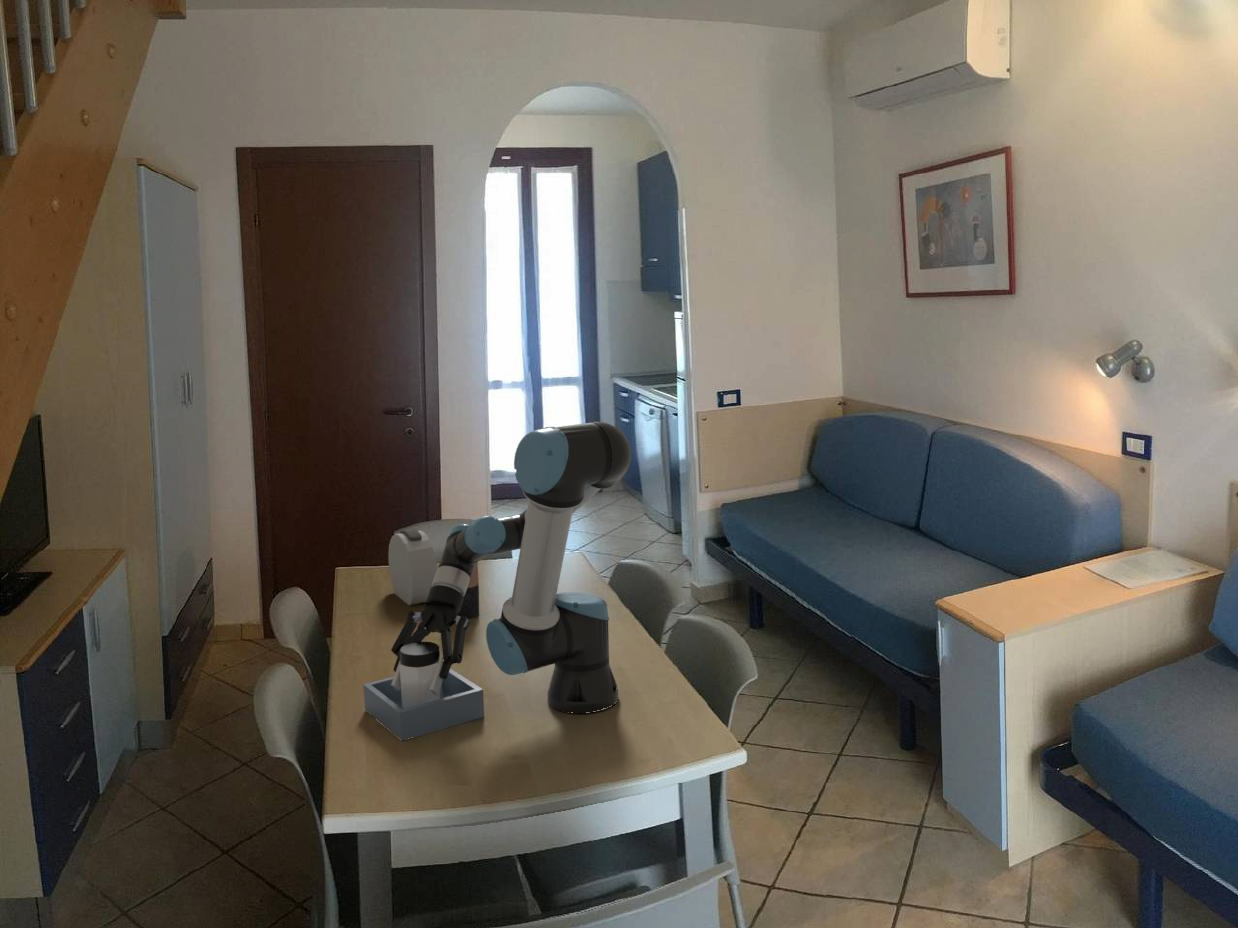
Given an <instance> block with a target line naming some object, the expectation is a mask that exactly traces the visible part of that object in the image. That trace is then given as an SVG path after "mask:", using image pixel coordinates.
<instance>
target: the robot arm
mask: <svg viewBox="0 0 1238 928" xmlns="http://www.w3.org/2000/svg"><path fill="white" fill-rule="evenodd" d="M516 447H517V448H516V449H515V452H514V460H513V467H514V470H516V471H515V473H514V474H515V475H514V476H515V479H516V482H517V483H518V484H517V485H518V486H519V487H520V489H521V490H522V493H523V495H524V497H525V498H526V499H527V500H528V503H527V508H526V510H524V511H523V512H522V513H518V514H514V515H508V516H503V517H498V518H496V517H493V516H491V515H484V516H481V517H479V518H477V519H474V520H473V522H471V523H470V524H466V523H462V524H455V525H454V526H453V527H452V528H451V530H450V532H449V535H448V536H447V538H446V541H445V547H444V549H443V552H442V555H441V556H440V557H441V558H440V561H439V564H438V565H437V571H436V574H435V577H434V580H433V582H432V587H431V588H430V591H429V594H428V597H427V600H426V602H425V606H424V608H423V609H422V610H421V611H419V612H417V611H416V612H415V611H414V610H409V612H408V614H407V617H406V618H407V619H406V620H405V622H404V625H403V627H402V628H401V631H400V633H399V634H398V636H397V638H396V640H395V641H394V643H393V645H392V647H391V649H390V651H391V652H392V653H393V654H394V655H395V657H397V658H396V659H395V660H396V661H395V663H394V666H393V671H394V675H393V677H394V678H393V681H392V684H391V685H392V686H393V687H394V688H395V689H396V690H399V691H400V688H401V681H400V663H401V662H400V649H401V647H403V646H404V645H407V644H410V643H414V642H423V640H424V639H425V638H426V637H427V636H430V634H431V633H438V634H440V637H441V638H440V639H441V649H442V657H441V659H442V660H439V662H438V666H437V668H436V671H435V674H434V677H433V680H432V683H431V686H430V689H429V690H430V691H431V692H432V693H433V694H434V695H438V693H439V690H440V687H441V684H442V681H443V679H446V678H447V677H448V673H449V670H450V669H451V667H452V666H453V665H454V664H458V665H459V664H461V663H462V661H463V656H464V655H463V653H464V648H465V639H466V633H467V632H466V631H467V629H468V627H469V625H470V620H469V619H467V618H466V617H465V616H461V617H460V616H458V613H459V611H460V609H461V606H462V603H463V600H464V597H463V596H464V595H465V593H466V590H467V587H468V584H469V581H470V578H471V575H472V572H473V569H474V566H475V564H476V563H479V562H480V561H482V560H483V559H485V558H486V557H488V556H492V555H497V554H502V553H507V552H512V551H515V550H520V551H519V555H518V560H517V567H516V573H515V579H514V583H513V591H512V596H511V597H509V598H508V599H507V600H505V601H504V603H503V604H502V609H501V614H500V618H495V619H493V620H492V621H490V622H488V624H487V625H486V628H485V629H486V630H485V631H486V632H485V638H486V644H487V647H488V651H489V653H490V657H491V658H492V660H493V662H494V664H495V665H496V666H497V667H498V669H499V670H500V671H501V672H502V673H504V674H506V675H508V676H514V675H519V674H520V675H521V674H526V673H528V672H531V671H534V670H538V669H541V668H544V667H547V666H551V665H554V668H553V671H552V675H551V678H550V682H549V687H547V688H548V689H547V703H548V705H549V706H550V707H551V708H552V709H554V710H556V709H557V710H556V711H558V710H560V711H559V712H561V711H564V712H563V713H565V712H569V713H568V714H572V713H571V712H573V713H586V712H593V711H597V710H601V709H603V708H607V707H609V706H611V705H613V704H614V703H615V702H616V701H617V699H618V700H619V687H618V685H617V681H616V679H615V677H614V673H613V671H612V668H611V664H610V643H609V642H610V639H609V620H610V617H609V611H608V604H607V601H606V600H605V599H603V598H602V597H600V596H599V595H596V594H592V593H585V592H579V591H578V592H575V591H574V592H572V591H571V592H569V591H567V592H559V593H558V589H559V588H558V587H559V584H560V579H561V572H562V569H563V562H564V557H565V553H566V548H567V544H568V543H567V542H568V536H569V532H570V527H571V523H572V522H571V521H572V517H573V514H574V513H575V512H576V511H577V510H579V509H580V508H581V507H582V506H583V505H584V504H585V503H587V502H588V501H589V500H590V499H592V498H593V497H594V496H595V495H596V494H597V493H598V492H599V491H601V490H606V489H610V488H611V487H613V486H614V485H615V484H616V483H618V482H619V481H620V480H621V479H622V478H623V476H624V475H625V474H626V472H627V471H628V469H629V467H630V465H631V461H632V450H631V446H630V443H629V440H628V439H627V437H626V435H624V433H623V432H622V431H621V430H620V429H619V428H618V427H617V426H614V425H612V424H610V423H608V422H604V421H592V422H587V423H579V424H572V425H570V424H569V425H563V426H557V427H556V426H546V427H543V428H540V429H535V430H532V431H530V432H529V433H527V434H525V435H524V436H523V437H522V438H521V440H520V441H519V443H518V445H517V446H516ZM420 620H421V621H420ZM455 624H456V626H455V633H454V642H453V646H452V639H451V638H452V631H451V628H452V627H453V626H454V625H455ZM416 627H417V628H416ZM617 702H618V701H617Z"/></svg>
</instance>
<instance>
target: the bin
mask: <svg viewBox="0 0 1238 928" xmlns="http://www.w3.org/2000/svg"><path fill="white" fill-rule="evenodd" d="M393 678H394V676H391V677H387V678H383V679H379V680H375V681H371V682H369V683H363V696H364V697H363V698H364V711H365V710H366V711H368V713H370V714H371V715H372V716H373V717H374V718H375V719H377V720H378V721H379V722H380V723H382V724H383V725H384V726H385V727H386V728H388V729H389V730H390V731H391V732H392V733H393V734H395V735H396V736H397V737H399V738H400V739H401V740H405V739H408V738H411V737H416V738H418V737H422V736H425V734H426V735H428V733H429V734H432V733H435V732H439V731H442V730H445V729H448V728H452V727H455V726H458V725H462V724H465V723H468V722H472V721H475V720H477V719H478V720H479V719H481V718H485V705H484V704H485V701H484V689H483V688H481V687H480V686H478V685H477V684H475V683H474V682H472V681H471V680H469V679H467V678H465V677H464V676H463V675H462V674H459V673H458V672H457V671H456V670H455V671H454V670H453V669H452V668H450V670H449V673H448V677H447V678H446V679H443V681H442V696H443V697H442V699H438V700H435V701H431V702H428V703H424V704H421V705H417V706H413V707H410V708H403V707H402V697H401V688H400V691H399V690H396V689H395V688H394V687H393V686H392V685H391V684H392V681H393ZM366 711H365V712H366ZM368 713H367V714H368ZM372 716H371V717H372ZM373 717H372V718H373ZM374 718H373V719H374ZM375 719H374V720H375ZM378 721H377V722H378ZM379 722H378V723H379ZM380 723H379V724H380ZM384 726H383V727H384ZM385 727H384V728H385ZM386 728H385V729H386ZM390 731H389V732H390ZM391 732H390V733H391ZM431 732H432V733H431ZM392 733H391V734H392ZM393 734H392V735H393ZM421 735H422V736H421ZM396 736H395V737H396ZM417 736H418V737H417ZM397 737H396V738H397Z"/></svg>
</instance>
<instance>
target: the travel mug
mask: <svg viewBox="0 0 1238 928" xmlns="http://www.w3.org/2000/svg"><path fill="white" fill-rule="evenodd" d="M478 563H479V562H477V563H476V564H475V566H474V569H473V572H472V575H471V578H470V581H469V584H468V587H467V590H466V593H465V595H464V596H463V597H464V600H463V603H462V606H461V609H460V611H459V613H458V616H460V617H461V616H465V617H466V618H467V619H468V620H469V619H470V620H472V619H474V618H476V617H478V616H479V614H480V587H479V585H480V584H479V580H480V579H479V564H478Z"/></svg>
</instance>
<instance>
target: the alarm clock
mask: <svg viewBox="0 0 1238 928" xmlns="http://www.w3.org/2000/svg"><path fill="white" fill-rule="evenodd" d="M387 557H388V570H389V576H390V582H391V585H392V589H393V593H394V594H395V595H396V596H397V597H398V598H399V599H401V600H402V601H403V602H404V603H406V604H407V605H408V606H413V605H414V606H415V605H418V604H424V603H425V604H426V600H427V597H428V594H429V591H430V588H431V587H432V582H433V580H434V577H435V574H436V571H437V569H438V563H437V558H436V554H435V551H434V548H433V546H432V543H431V540H430V539H429V537H428V535H427V534H426V532H424V531H423V530H417V529H415V528H406V529H401V530H399V533H395V534H394V535H392V536H391V538H390V540H389V545H388V556H387Z"/></svg>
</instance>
